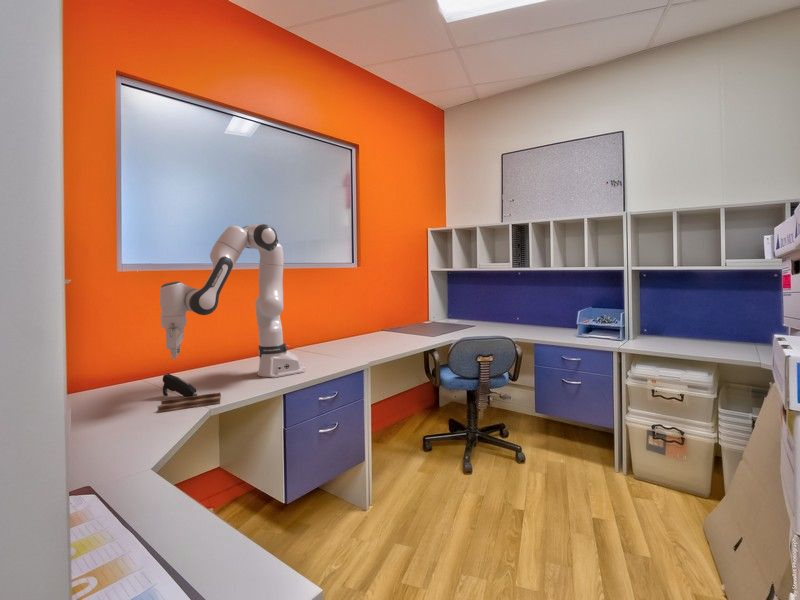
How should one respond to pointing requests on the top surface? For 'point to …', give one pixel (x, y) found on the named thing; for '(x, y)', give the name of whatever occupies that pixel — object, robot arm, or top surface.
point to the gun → (178, 386)
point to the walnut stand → (189, 402)
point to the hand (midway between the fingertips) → (176, 355)
